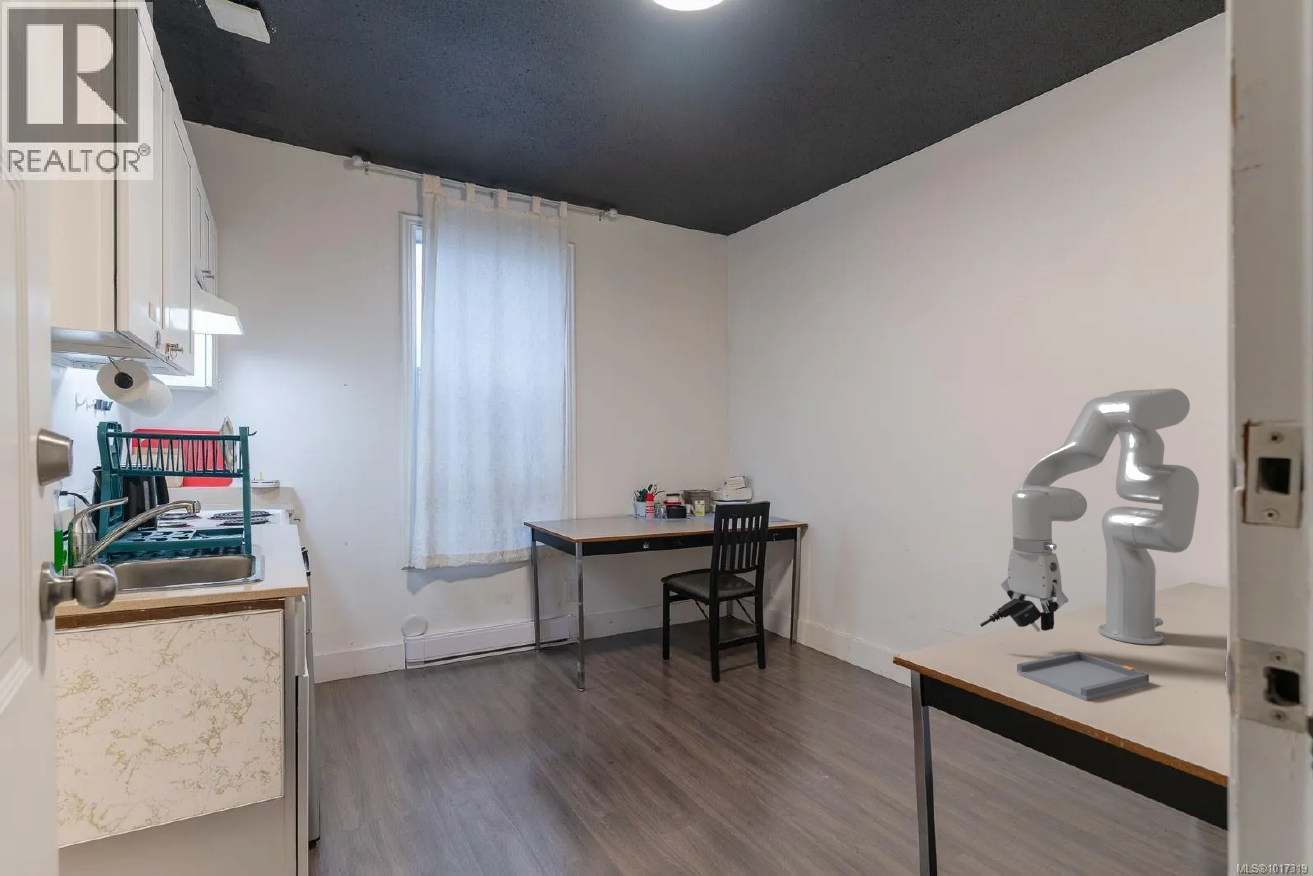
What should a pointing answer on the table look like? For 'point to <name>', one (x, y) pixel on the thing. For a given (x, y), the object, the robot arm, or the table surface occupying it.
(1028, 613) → the power plug
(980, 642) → the table surface
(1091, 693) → the dock
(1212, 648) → the table surface
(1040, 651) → the table surface
